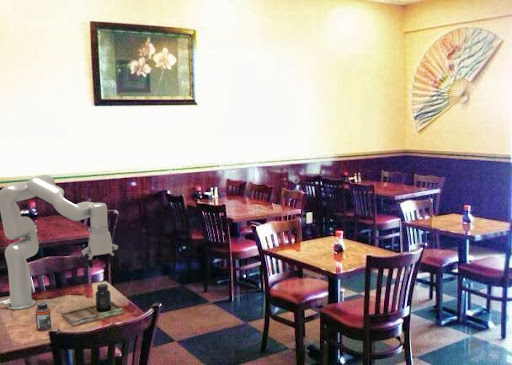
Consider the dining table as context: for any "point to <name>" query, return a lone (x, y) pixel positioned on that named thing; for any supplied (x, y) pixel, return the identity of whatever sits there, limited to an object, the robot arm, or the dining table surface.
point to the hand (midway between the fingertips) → (100, 265)
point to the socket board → (90, 315)
